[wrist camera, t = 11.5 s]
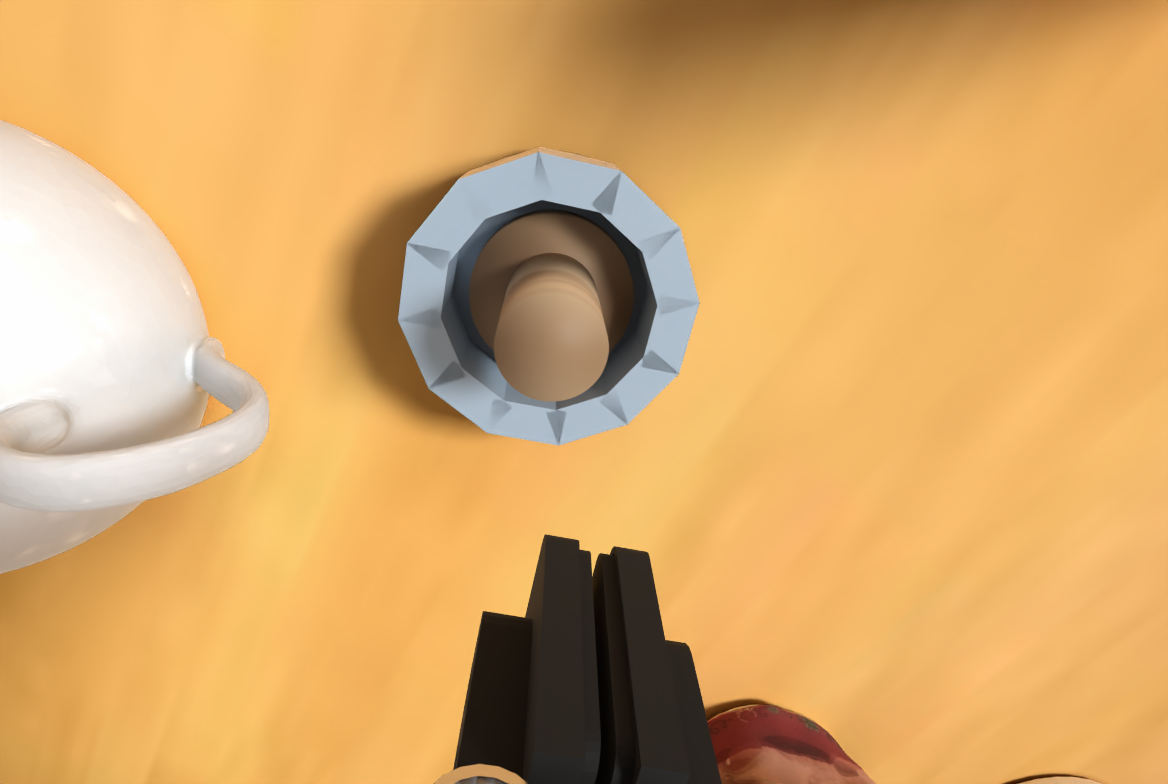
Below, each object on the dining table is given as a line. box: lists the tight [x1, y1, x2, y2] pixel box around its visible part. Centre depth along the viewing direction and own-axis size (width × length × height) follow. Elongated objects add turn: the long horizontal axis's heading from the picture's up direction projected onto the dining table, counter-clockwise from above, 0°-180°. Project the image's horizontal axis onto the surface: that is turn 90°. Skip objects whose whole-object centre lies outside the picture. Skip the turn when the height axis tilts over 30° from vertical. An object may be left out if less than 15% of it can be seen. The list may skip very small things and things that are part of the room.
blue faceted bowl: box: [398, 146, 700, 445], centre depth 27 cm, size 11×11×4 cm
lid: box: [469, 210, 634, 402], centre depth 25 cm, size 6×6×7 cm
